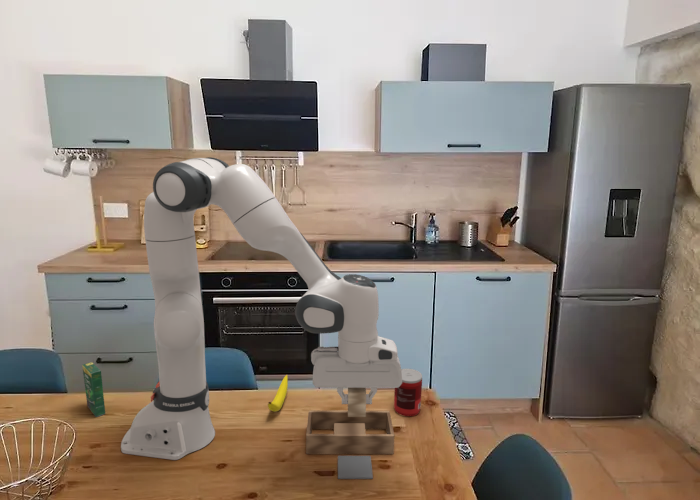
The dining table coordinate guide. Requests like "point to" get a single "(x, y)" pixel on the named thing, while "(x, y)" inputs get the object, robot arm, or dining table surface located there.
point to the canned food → (408, 393)
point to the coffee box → (94, 389)
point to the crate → (349, 433)
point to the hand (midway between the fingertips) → (356, 403)
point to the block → (356, 402)
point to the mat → (354, 467)
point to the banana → (279, 396)
